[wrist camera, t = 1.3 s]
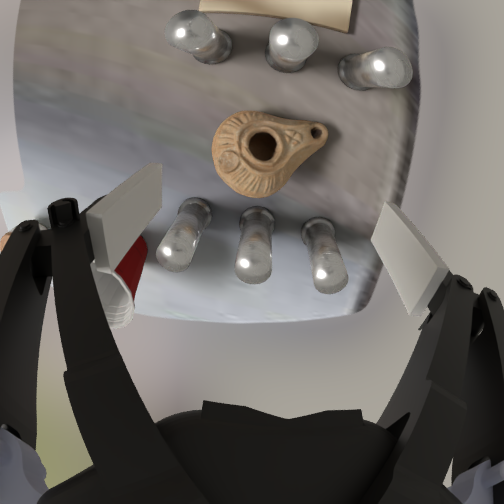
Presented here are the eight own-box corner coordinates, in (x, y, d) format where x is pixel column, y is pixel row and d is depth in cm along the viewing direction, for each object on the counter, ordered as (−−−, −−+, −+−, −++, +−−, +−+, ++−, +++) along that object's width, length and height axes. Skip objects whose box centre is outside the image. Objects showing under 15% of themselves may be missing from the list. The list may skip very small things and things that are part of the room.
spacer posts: (195, 29, 22) (164, 7, 13) (377, 61, 22) (419, 55, 14) (179, 225, 36) (153, 271, 27) (328, 248, 36) (343, 298, 28)
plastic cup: (166, 220, 35) (130, 275, 25) (162, 279, 41) (136, 338, 31) (98, 205, 34) (50, 251, 24) (103, 264, 40) (68, 314, 30)
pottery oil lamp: (330, 169, 30) (345, 190, 24) (232, 185, 32) (223, 210, 26) (319, 97, 26) (333, 99, 20) (213, 116, 28) (198, 124, 22)
